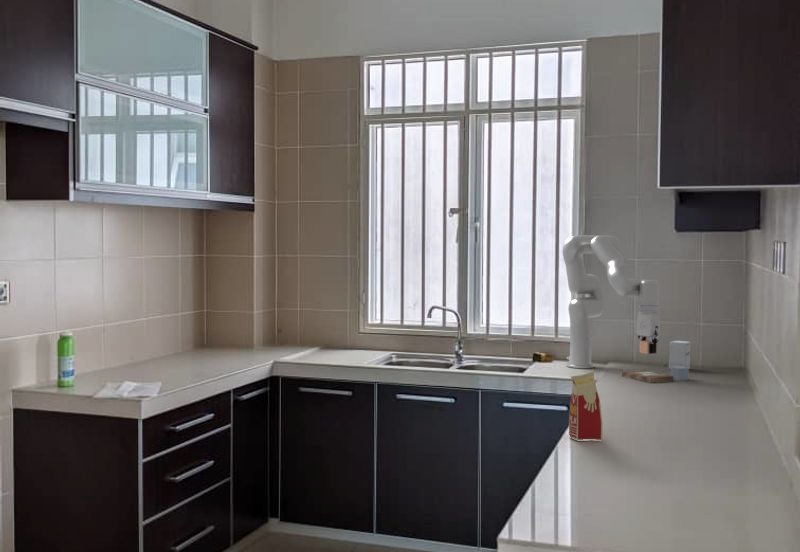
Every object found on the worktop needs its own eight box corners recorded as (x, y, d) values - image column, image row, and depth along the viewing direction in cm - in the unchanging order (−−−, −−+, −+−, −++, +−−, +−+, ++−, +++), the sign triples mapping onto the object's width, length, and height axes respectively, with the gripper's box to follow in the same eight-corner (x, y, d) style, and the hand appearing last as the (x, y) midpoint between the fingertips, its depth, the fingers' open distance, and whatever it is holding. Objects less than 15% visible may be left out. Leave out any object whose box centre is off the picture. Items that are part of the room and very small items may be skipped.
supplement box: (685, 371, 362) (685, 343, 362) (668, 369, 367) (669, 341, 366) (690, 369, 368) (691, 341, 368) (673, 367, 373) (674, 340, 372)
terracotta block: (639, 352, 343) (639, 340, 343) (648, 352, 345) (649, 340, 345) (647, 354, 339) (647, 342, 339) (657, 353, 341) (657, 341, 341)
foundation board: (621, 375, 349) (621, 370, 349) (644, 374, 353) (644, 369, 353) (650, 382, 332) (650, 377, 332) (673, 381, 337) (673, 376, 337)
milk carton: (595, 434, 245) (596, 368, 244) (603, 442, 236) (605, 373, 235) (565, 434, 245) (566, 368, 244) (572, 442, 235) (573, 373, 234)
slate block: (670, 378, 343) (670, 366, 343) (679, 377, 345) (680, 366, 345) (678, 380, 339) (679, 368, 338) (688, 379, 341) (688, 368, 340)
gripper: (628, 308, 348) (627, 350, 348) (655, 311, 332) (654, 355, 333) (642, 307, 351) (641, 349, 351) (669, 310, 335) (669, 354, 336)
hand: (648, 351), depth 342 cm, fingers closed on terracotta block, 5 cm apart
